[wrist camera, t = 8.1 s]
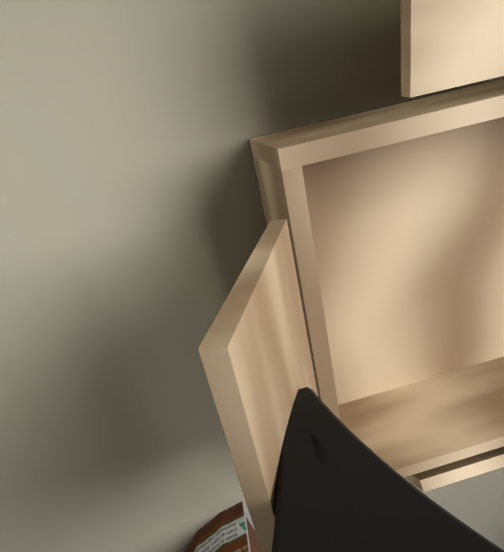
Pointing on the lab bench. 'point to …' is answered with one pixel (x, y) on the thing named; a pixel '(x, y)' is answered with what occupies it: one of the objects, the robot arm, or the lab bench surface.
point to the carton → (402, 273)
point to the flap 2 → (450, 44)
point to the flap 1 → (259, 369)
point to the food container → (227, 533)
